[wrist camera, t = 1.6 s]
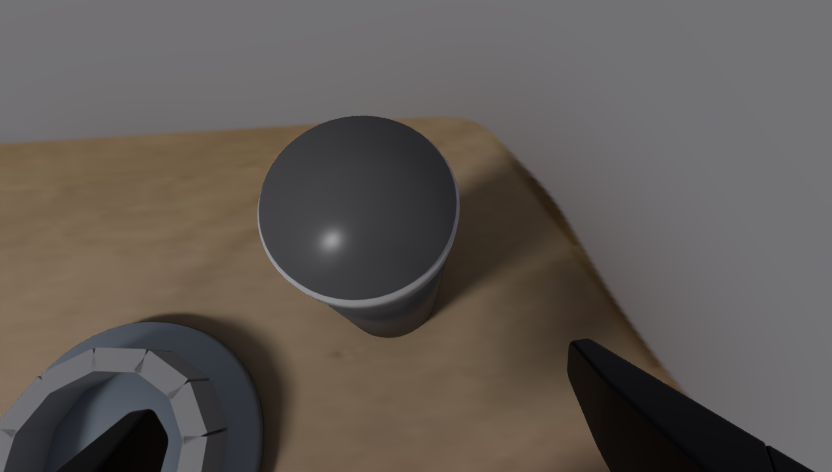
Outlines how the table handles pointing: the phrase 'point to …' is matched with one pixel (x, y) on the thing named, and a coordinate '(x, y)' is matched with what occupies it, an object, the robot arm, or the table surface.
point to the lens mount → (139, 401)
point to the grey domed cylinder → (362, 220)
